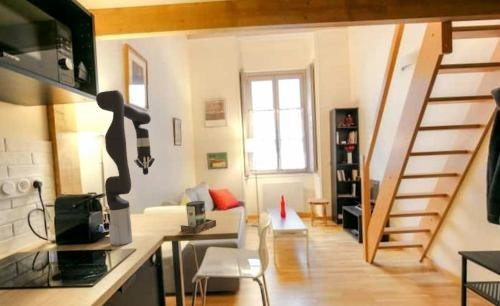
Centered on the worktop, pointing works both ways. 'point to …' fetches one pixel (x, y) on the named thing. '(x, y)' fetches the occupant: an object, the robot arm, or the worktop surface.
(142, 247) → the worktop surface
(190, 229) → the walnut bay
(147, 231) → the worktop surface
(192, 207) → the coffee can
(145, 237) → the worktop surface
